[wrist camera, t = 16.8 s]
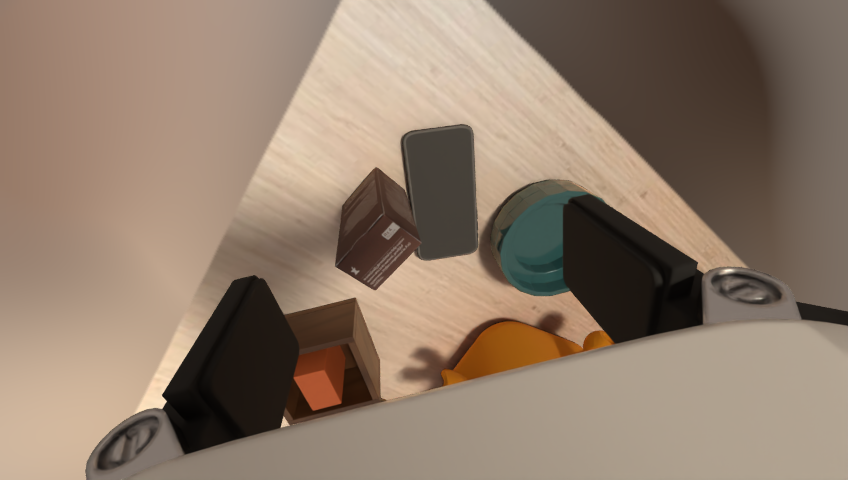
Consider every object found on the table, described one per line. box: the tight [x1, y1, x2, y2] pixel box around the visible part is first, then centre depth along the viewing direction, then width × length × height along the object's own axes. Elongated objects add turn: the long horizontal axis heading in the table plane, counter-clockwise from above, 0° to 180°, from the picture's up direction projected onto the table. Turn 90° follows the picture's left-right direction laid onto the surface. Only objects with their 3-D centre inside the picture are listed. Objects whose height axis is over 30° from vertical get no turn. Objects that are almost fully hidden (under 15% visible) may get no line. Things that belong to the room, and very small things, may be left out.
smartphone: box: [402, 124, 478, 261], centre depth 37 cm, size 7×1×15 cm
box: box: [335, 167, 421, 290], centre depth 32 cm, size 6×4×12 cm
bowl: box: [490, 180, 606, 296], centre depth 40 cm, size 13×13×4 cm
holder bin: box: [283, 298, 381, 425], centre depth 43 cm, size 12×12×7 cm
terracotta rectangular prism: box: [293, 345, 346, 411], centre depth 42 cm, size 6×4×7 cm, turn 12°
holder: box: [429, 321, 615, 390], centre depth 45 cm, size 30×17×30 cm
